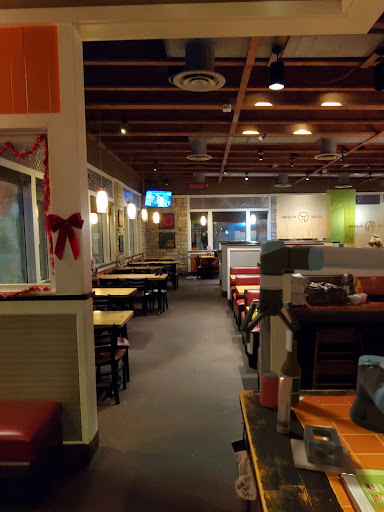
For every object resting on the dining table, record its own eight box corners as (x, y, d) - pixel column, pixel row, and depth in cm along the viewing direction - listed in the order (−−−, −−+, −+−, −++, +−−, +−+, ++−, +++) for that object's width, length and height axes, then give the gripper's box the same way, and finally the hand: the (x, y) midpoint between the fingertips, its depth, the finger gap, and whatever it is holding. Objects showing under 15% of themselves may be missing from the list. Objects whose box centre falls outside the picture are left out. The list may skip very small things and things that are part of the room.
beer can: (277, 409, 129) (279, 378, 128) (259, 407, 130) (261, 376, 129) (277, 401, 135) (278, 371, 134) (259, 399, 137) (261, 369, 136)
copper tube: (288, 427, 117) (291, 375, 116) (289, 434, 113) (293, 381, 112) (276, 426, 118) (279, 374, 116) (276, 433, 114) (280, 379, 112)
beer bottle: (300, 406, 132) (304, 344, 130) (279, 404, 133) (283, 342, 131) (297, 397, 139) (301, 338, 138) (278, 394, 141) (281, 336, 139)
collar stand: (344, 449, 106) (346, 427, 106) (356, 476, 94) (358, 452, 94) (290, 441, 109) (292, 420, 108) (295, 467, 97) (296, 443, 97)
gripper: (301, 285, 119) (299, 345, 121) (231, 286, 115) (229, 349, 116) (312, 288, 112) (310, 353, 113) (238, 290, 107) (236, 357, 109)
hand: (269, 351), depth 115 cm, fingers open, 13 cm apart
